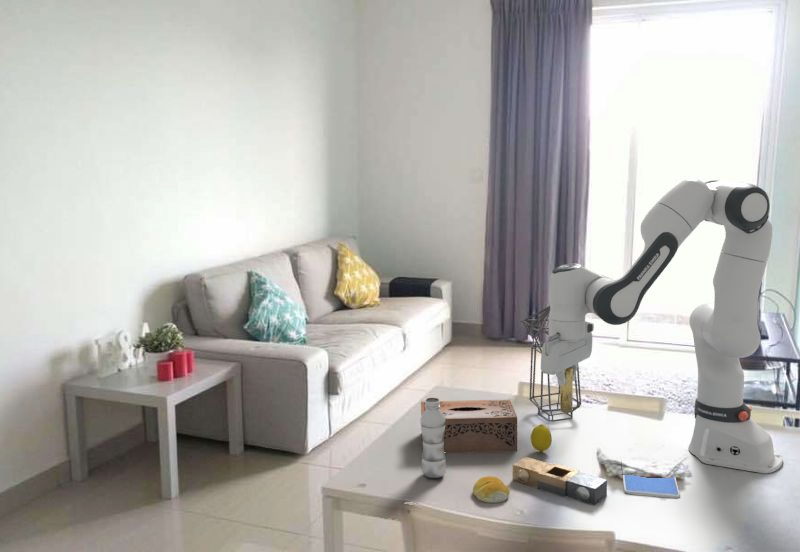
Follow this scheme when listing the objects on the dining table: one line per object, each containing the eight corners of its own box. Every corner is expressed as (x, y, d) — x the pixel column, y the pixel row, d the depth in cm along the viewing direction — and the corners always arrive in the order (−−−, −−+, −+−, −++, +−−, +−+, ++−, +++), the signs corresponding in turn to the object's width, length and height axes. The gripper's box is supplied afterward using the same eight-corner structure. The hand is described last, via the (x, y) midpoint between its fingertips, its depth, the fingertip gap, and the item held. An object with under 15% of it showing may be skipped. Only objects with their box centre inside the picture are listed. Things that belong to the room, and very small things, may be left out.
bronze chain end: (579, 486, 177) (579, 470, 176) (565, 497, 172) (565, 481, 171) (526, 470, 186) (526, 455, 186) (511, 480, 181) (511, 465, 180)
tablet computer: (620, 462, 191) (621, 457, 191) (672, 466, 188) (672, 461, 188) (624, 495, 173) (624, 490, 173) (680, 500, 170) (680, 495, 169)
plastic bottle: (426, 483, 181) (424, 405, 178) (418, 472, 188) (416, 397, 184) (450, 479, 183) (449, 402, 180) (441, 468, 189) (440, 394, 186)
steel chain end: (607, 494, 172) (608, 478, 172) (593, 506, 167) (594, 489, 166) (552, 478, 182) (552, 463, 181) (537, 488, 176) (537, 473, 176)
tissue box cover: (422, 454, 199) (421, 419, 198) (421, 434, 213) (420, 401, 212) (517, 452, 199) (517, 417, 197) (510, 432, 213) (509, 399, 211)
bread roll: (499, 485, 179) (499, 469, 179) (513, 501, 171) (513, 485, 170) (467, 489, 178) (467, 473, 177) (480, 506, 169) (480, 489, 168)
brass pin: (574, 409, 185) (574, 367, 183) (568, 413, 183) (569, 370, 181) (563, 407, 187) (564, 365, 185) (558, 410, 185) (558, 368, 183)
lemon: (551, 457, 194) (551, 428, 193) (530, 455, 196) (530, 427, 194) (551, 448, 200) (551, 421, 198) (531, 447, 201) (531, 420, 200)
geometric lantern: (590, 422, 219) (589, 308, 212) (541, 429, 215) (539, 313, 209) (566, 404, 234) (565, 297, 228) (520, 410, 231) (518, 302, 224)
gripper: (557, 339, 172) (557, 396, 174) (597, 323, 187) (596, 375, 189) (534, 336, 176) (534, 391, 178) (574, 320, 191) (574, 371, 193)
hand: (566, 382), depth 184 cm, fingers closed on brass pin, 3 cm apart
